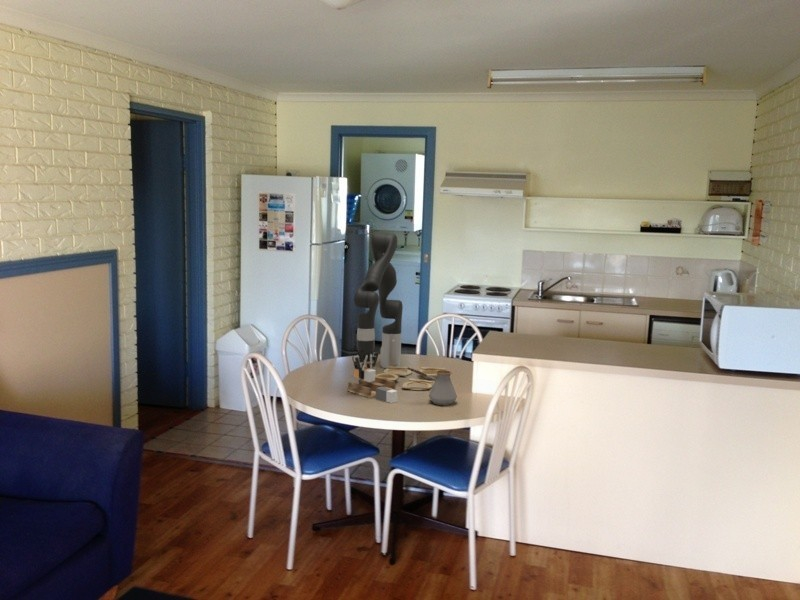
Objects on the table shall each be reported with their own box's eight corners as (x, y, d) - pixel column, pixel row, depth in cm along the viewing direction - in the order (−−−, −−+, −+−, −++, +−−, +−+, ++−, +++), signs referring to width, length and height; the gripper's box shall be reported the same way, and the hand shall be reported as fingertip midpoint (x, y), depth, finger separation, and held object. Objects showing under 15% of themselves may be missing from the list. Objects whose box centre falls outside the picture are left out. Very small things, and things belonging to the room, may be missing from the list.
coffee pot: (453, 398, 290) (455, 363, 288) (459, 406, 279) (460, 370, 276) (403, 398, 287) (404, 363, 285) (406, 407, 276) (407, 370, 274)
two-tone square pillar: (375, 398, 287) (375, 388, 286) (381, 396, 290) (381, 386, 289) (391, 403, 281) (391, 392, 280) (397, 401, 284) (397, 390, 283)
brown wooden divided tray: (347, 391, 296) (347, 382, 295) (372, 384, 307) (372, 375, 307) (370, 398, 287) (370, 389, 286) (395, 391, 298) (396, 382, 298)
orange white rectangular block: (354, 376, 295) (354, 366, 294) (360, 375, 298) (360, 365, 297) (369, 382, 289) (369, 371, 288) (375, 380, 292) (375, 370, 291)
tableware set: (389, 368, 338) (389, 360, 338) (447, 374, 329) (448, 366, 329) (363, 386, 305) (364, 377, 305) (427, 394, 296) (427, 384, 296)
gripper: (371, 334, 298) (370, 373, 301) (347, 339, 288) (346, 379, 290) (383, 337, 293) (383, 376, 296) (360, 342, 283) (359, 382, 285)
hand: (365, 377), depth 293 cm, fingers closed on orange white rectangular block, 3 cm apart
